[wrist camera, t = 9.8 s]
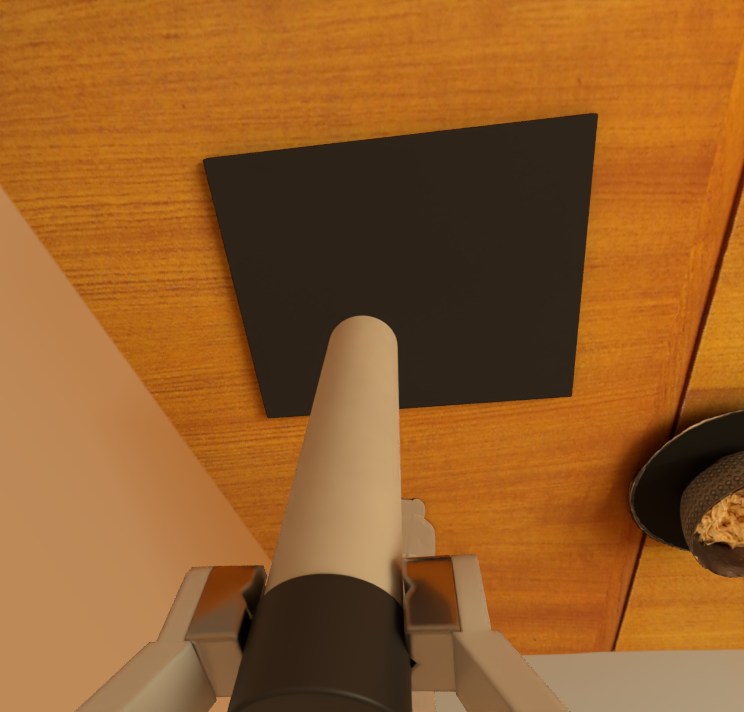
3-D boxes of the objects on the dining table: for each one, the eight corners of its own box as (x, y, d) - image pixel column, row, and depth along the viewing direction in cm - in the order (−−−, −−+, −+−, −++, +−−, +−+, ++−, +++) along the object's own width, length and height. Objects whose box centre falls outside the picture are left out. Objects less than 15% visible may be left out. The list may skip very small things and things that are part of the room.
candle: (444, 499, 40) (485, 812, 23) (425, 607, 47) (446, 917, 29) (356, 493, 40) (330, 801, 23) (350, 602, 47) (325, 908, 29)
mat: (269, 412, 37) (266, 418, 36) (206, 157, 29) (202, 159, 28) (568, 390, 35) (572, 397, 34) (593, 112, 27) (598, 113, 26)
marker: (332, 380, 21) (246, 791, 8) (321, 316, 20) (199, 693, 7) (402, 375, 21) (419, 790, 8) (396, 309, 19) (405, 688, 7)
